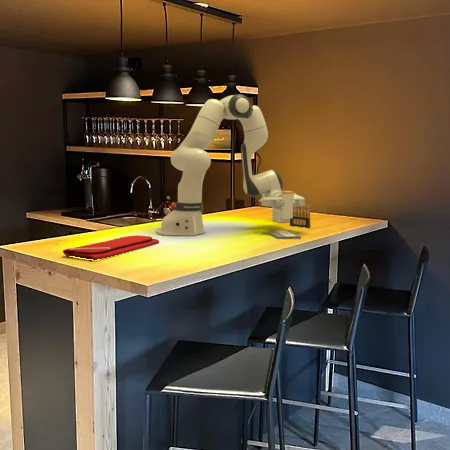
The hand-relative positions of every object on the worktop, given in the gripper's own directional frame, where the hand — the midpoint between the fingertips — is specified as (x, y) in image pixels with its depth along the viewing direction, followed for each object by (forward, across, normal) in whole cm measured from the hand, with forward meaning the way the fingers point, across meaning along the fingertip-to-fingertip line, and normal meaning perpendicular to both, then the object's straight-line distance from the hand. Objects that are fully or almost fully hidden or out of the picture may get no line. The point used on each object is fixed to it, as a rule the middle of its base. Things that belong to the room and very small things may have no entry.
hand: (288, 203), depth 258 cm
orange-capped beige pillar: (-1, 0, +6) cm, 7 cm away
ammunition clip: (-25, +15, +15) cm, 33 cm away
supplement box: (-43, +12, +15) cm, 47 cm away
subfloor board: (-1, -1, +15) cm, 15 cm away
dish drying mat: (+20, -78, +15) cm, 82 cm away
